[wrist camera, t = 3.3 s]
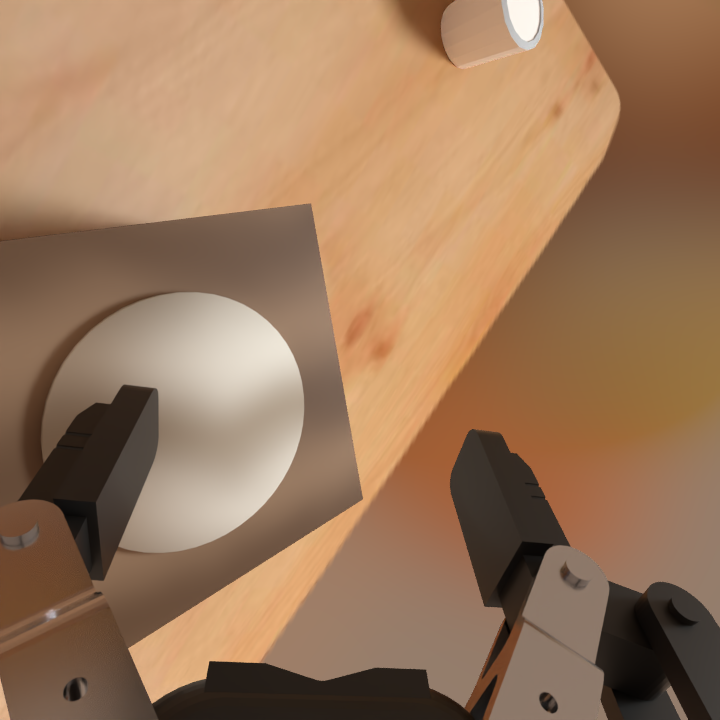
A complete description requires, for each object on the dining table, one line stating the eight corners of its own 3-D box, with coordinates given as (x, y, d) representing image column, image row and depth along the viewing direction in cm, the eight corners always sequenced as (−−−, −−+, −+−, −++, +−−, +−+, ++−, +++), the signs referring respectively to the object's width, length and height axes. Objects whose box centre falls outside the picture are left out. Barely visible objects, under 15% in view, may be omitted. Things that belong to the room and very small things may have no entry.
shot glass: (488, 58, 50) (552, 31, 45) (454, 88, 47) (518, 63, 42) (464, -16, 47) (530, -54, 42) (426, 12, 44) (492, -26, 39)
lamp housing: (-117, 274, 23) (-162, 259, 12) (193, 231, 32) (323, 201, 21) (-3, 544, 27) (38, 713, 16) (243, 436, 36) (373, 498, 25)
